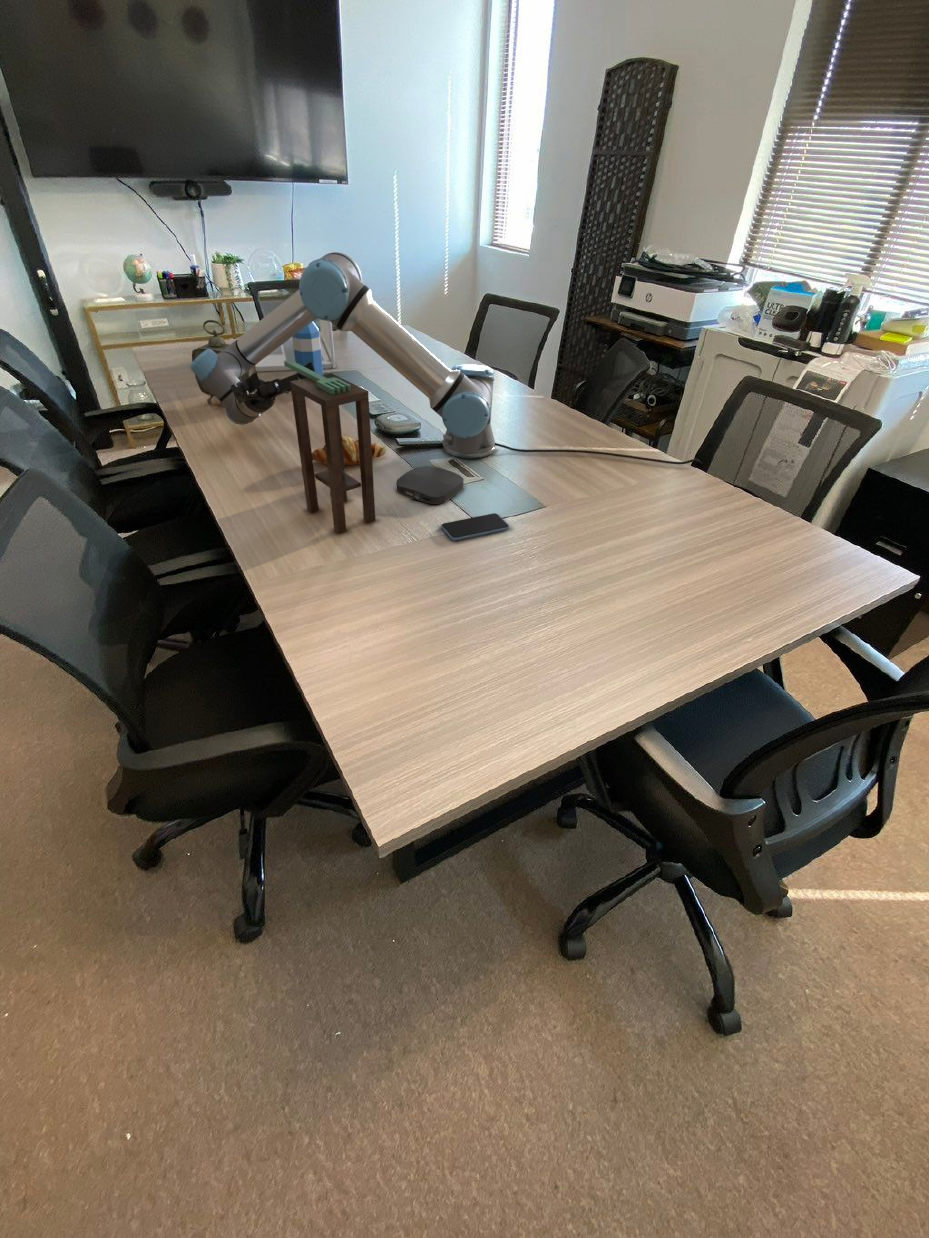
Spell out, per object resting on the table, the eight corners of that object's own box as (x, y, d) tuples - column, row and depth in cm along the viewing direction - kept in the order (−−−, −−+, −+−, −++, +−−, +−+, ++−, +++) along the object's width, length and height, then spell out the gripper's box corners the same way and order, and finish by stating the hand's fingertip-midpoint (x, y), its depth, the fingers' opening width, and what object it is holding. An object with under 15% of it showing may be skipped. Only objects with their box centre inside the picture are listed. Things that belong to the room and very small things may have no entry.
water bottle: (319, 396, 204) (311, 316, 188) (293, 393, 205) (283, 313, 189) (330, 388, 211) (322, 309, 195) (304, 385, 212) (295, 307, 197)
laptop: (253, 342, 251) (240, 266, 233) (323, 340, 258) (316, 266, 241) (256, 371, 221) (242, 287, 204) (335, 368, 229) (328, 287, 211)
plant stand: (307, 509, 144) (289, 381, 125) (343, 498, 149) (331, 373, 130) (339, 534, 136) (325, 400, 117) (375, 520, 141) (368, 391, 122)
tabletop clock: (201, 405, 193) (182, 320, 177) (217, 396, 200) (199, 314, 184) (242, 411, 191) (226, 325, 175) (257, 401, 198) (242, 319, 182)
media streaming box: (469, 486, 157) (469, 475, 155) (438, 508, 147) (439, 497, 145) (422, 471, 162) (422, 461, 160) (390, 492, 152) (389, 481, 150)
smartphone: (511, 526, 140) (453, 538, 134) (510, 529, 140) (452, 542, 135) (496, 511, 145) (439, 523, 139) (495, 514, 145) (439, 526, 140)
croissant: (383, 463, 173) (379, 434, 171) (392, 460, 164) (388, 430, 162) (309, 470, 166) (304, 441, 165) (313, 468, 157) (308, 436, 155)
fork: (278, 366, 132) (277, 361, 131) (296, 363, 134) (295, 357, 133) (332, 395, 119) (331, 388, 119) (351, 390, 122) (350, 384, 121)
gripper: (305, 403, 160) (339, 380, 143) (214, 423, 147) (239, 401, 130) (295, 374, 158) (327, 348, 141) (201, 392, 145) (225, 365, 128)
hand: (285, 373), depth 135 cm, fingers open, 13 cm apart
